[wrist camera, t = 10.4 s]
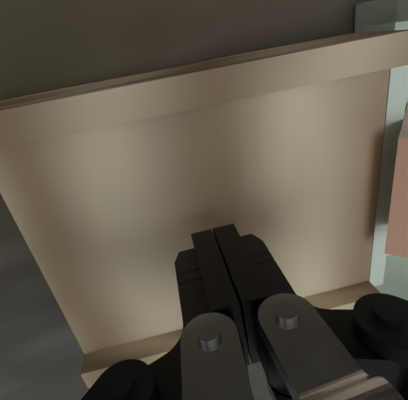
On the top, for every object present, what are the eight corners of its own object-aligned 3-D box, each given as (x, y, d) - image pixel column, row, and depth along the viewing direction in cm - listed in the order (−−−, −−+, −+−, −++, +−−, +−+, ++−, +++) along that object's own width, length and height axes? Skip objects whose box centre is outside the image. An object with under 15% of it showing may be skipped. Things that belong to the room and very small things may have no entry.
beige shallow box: (99, 319, 17) (88, 388, 14) (1, 100, 12) (-60, 122, 8) (335, 260, 19) (380, 310, 15) (343, 34, 13) (417, 28, 10)
